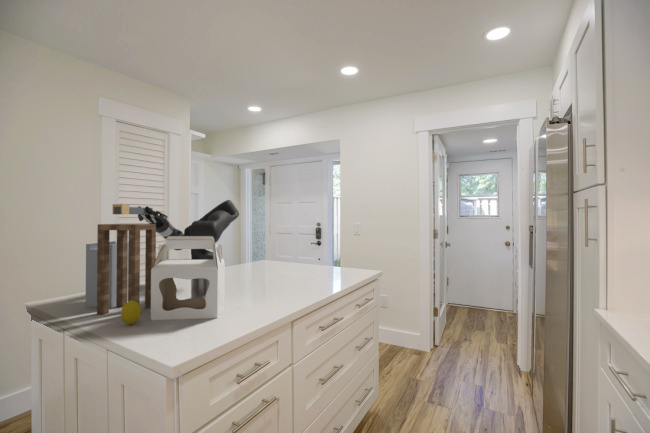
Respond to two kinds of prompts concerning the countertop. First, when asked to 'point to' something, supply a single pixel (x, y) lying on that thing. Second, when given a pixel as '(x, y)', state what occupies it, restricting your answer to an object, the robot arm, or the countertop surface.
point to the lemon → (131, 312)
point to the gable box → (166, 270)
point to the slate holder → (92, 274)
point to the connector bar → (128, 209)
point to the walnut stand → (124, 264)
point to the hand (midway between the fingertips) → (142, 208)
